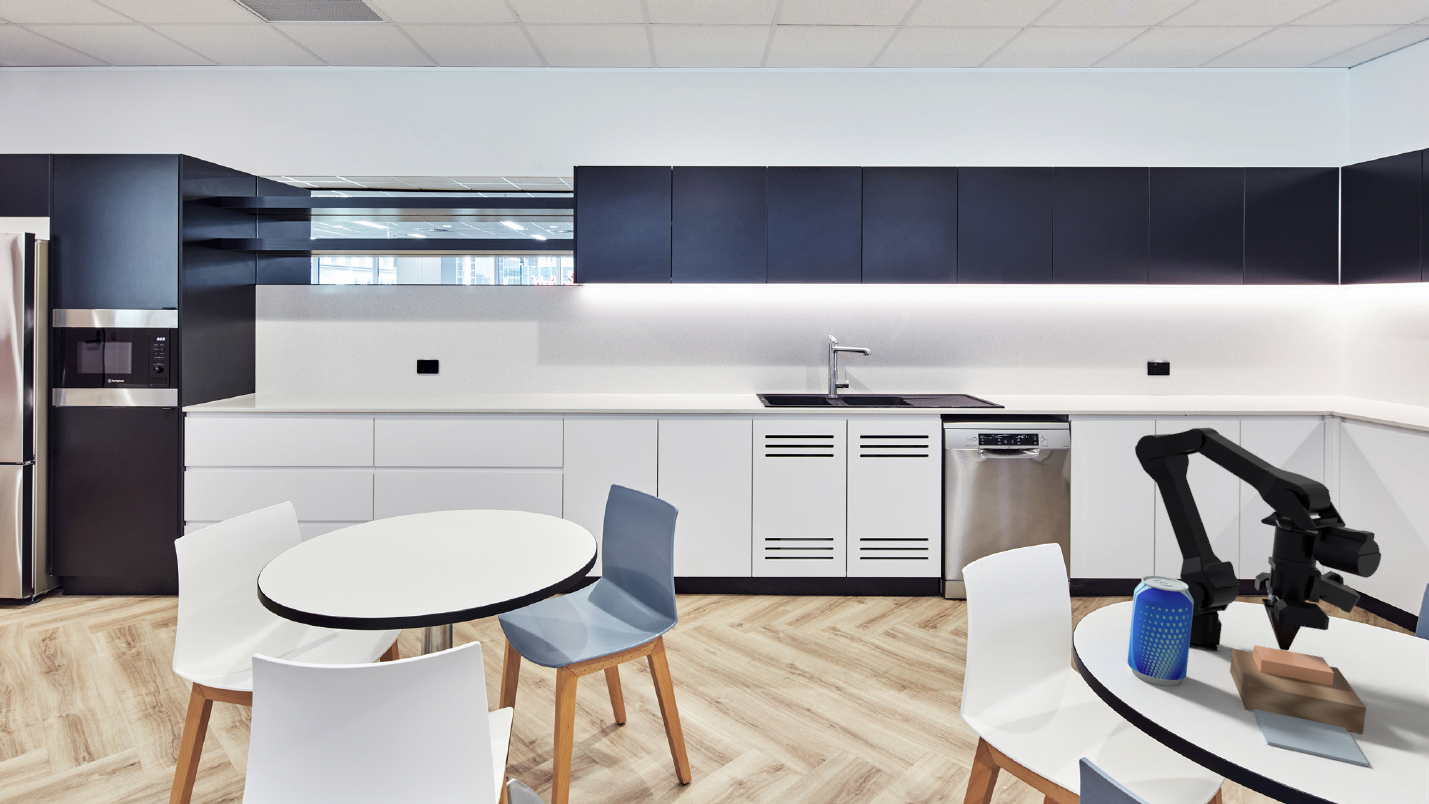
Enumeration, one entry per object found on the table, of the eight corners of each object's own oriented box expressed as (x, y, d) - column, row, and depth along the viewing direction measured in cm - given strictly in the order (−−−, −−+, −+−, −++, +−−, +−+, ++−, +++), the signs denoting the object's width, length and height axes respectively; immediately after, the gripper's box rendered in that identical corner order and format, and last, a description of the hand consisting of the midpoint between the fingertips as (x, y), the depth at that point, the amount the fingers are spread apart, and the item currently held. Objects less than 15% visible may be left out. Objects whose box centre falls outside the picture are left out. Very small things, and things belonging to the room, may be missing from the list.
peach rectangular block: (1260, 671, 118) (1261, 659, 118) (1252, 656, 124) (1254, 645, 124) (1332, 685, 115) (1333, 672, 114) (1321, 669, 120) (1322, 657, 120)
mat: (1267, 744, 105) (1267, 741, 105) (1253, 711, 114) (1253, 708, 114) (1368, 766, 101) (1368, 763, 100) (1345, 730, 109) (1345, 727, 109)
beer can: (1181, 670, 127) (1191, 578, 125) (1188, 693, 119) (1199, 595, 118) (1125, 660, 131) (1133, 570, 129) (1128, 680, 123) (1137, 586, 121)
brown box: (1245, 709, 115) (1248, 684, 114) (1229, 671, 127) (1232, 648, 127) (1362, 734, 109) (1366, 707, 108) (1334, 691, 121) (1337, 667, 121)
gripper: (1377, 583, 111) (1365, 684, 113) (1338, 549, 128) (1328, 638, 129) (1284, 571, 116) (1274, 668, 117) (1258, 539, 132) (1249, 625, 134)
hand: (1283, 649), depth 124 cm, fingers closed
